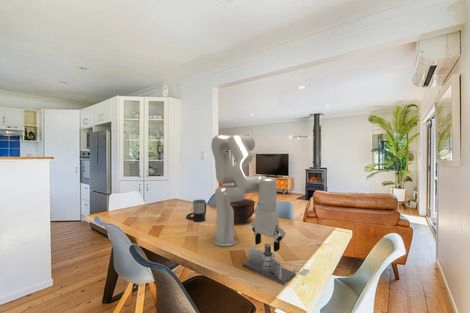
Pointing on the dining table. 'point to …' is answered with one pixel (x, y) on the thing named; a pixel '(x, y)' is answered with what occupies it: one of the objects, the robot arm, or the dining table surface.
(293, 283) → the dining table surface
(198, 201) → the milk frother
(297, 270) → the mounting bracket
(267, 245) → the hinge pin
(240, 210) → the bowl
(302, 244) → the dining table surface
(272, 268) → the hinge leaf
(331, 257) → the dining table surface
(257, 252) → the hinge stand
